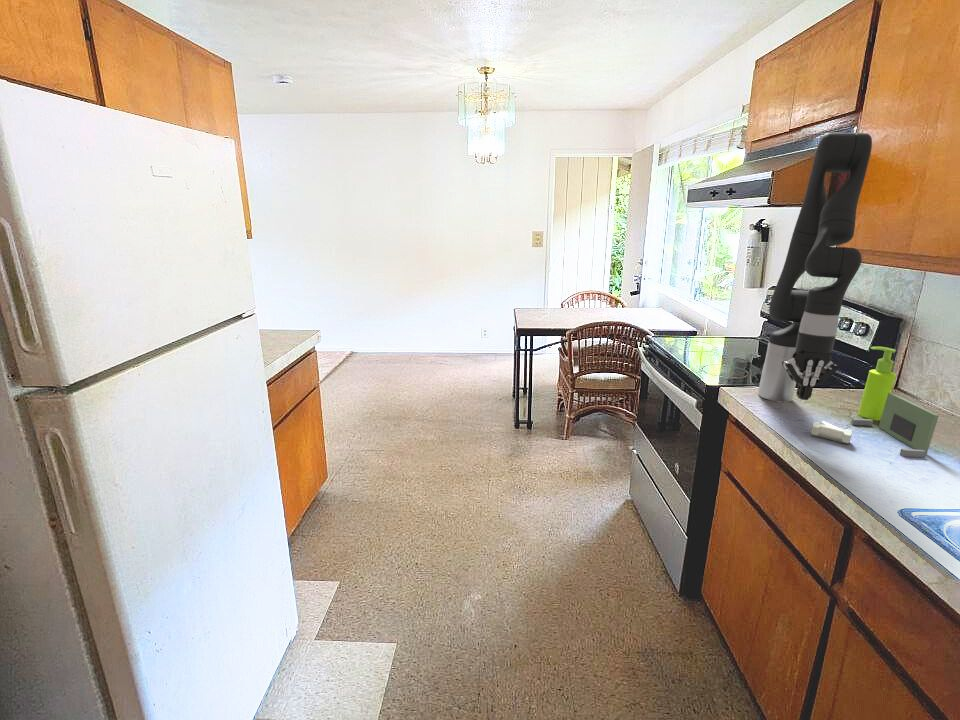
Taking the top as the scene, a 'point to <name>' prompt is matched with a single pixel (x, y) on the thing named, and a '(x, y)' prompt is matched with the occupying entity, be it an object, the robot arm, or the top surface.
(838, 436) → the pipe fitting
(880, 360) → the soap dispenser
